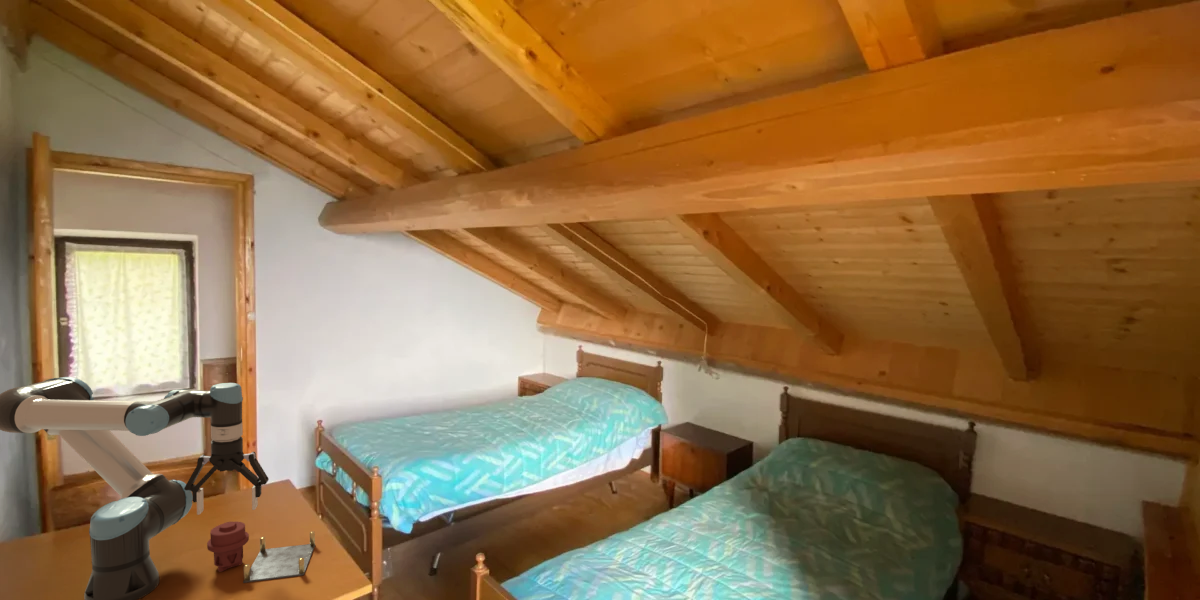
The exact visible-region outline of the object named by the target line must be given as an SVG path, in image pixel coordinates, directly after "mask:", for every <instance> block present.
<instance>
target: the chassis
mask: <svg viewBox="0 0 1200 600" xmlns="http://www.w3.org/2000/svg"><path fill="white" fill-rule="evenodd" d="M315 535H316V532H315V531H313V530H312V531H310V532H309V543H308V544H298V545H287V546H281V547H272V548H266V536H261V537H259V552H258V554H257V556H256V558H255V559H254V561H253V563H252V564H251V565H250V564H249V563H248V564H244V565H243V583H244V584H245V583H253V582H261V581H262V582H263V581H268V580H270V581H271V580H277V579H284V578H291V577H300V576H304V575H306V571H307V568H308V566H309V563H310V560H311V557H312V554H313V552H314V550H315V546H316V536H315ZM250 566H251V567H250Z"/></svg>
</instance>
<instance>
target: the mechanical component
mask: <svg viewBox="0 0 1200 600" xmlns="http://www.w3.org/2000/svg"><path fill="white" fill-rule="evenodd" d="M249 537H250V535H249V533H248V531H246V524H245V523H244V522H242V521H226V522H224V523H221V524H218V525H216V526H214V527H213V528H212V529H210V539H209V540H208V541H207V543H206V547H207V548H206V549H207V551H209V552H211V553H213V564H214V566H215V567H217V571H218V572H219V573H220V572H224V571H226V570H229V569H230V568H233V567H237V566H241V565H242V564H243V558H244V546H245V545H246V544H247V543H248V542H249V540H250V539H249Z"/></svg>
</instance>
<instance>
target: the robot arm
mask: <svg viewBox="0 0 1200 600" xmlns="http://www.w3.org/2000/svg"><path fill="white" fill-rule="evenodd" d="M242 391H243V390H242V386H241V384H239V383H238V382H237V383H235V382H222V383H216V384H213V385H212V386H211V387H210V388H209V390H202V389H197V390H196V389H189V388H183V389H172V390H171V391H169V392H168V394H165V396H164V397H163V398H161V399H158V400H155V401H154V400H153V401H137V400H136V401H135V400H134V401H133V400H95V399H94V396H93V394H94V392H93V390H92V389H91V387H90V386H89V384H88V383H86V382H85V381H83V380H81V379H80V378H76V377H73V376H63V377H55V378H54V377H53V378H49V379H46V380H43V381H39V382H36V383H32V384H31V383H30V384H27V385H21V386H17V387H12V388H10V389H7V390H5V391H3V392H2V393H0V431H2V432H5V433H12V434H13V433H14V434H33V433H37V432H39V431H41V430H43V431H44V432H45V433H46V434H48V435H49V436H51V435H52V436H60V438H62V439H63V440H64V441H65V442H66V443H67V444H68V446H69V447H71V449H73V450H74V452H76V453H77V454H78V455H79V456H80V457H81V458H82V459H83V460H84V461H85V462H86V464H88V466H90V468H92V469H93V470H94V471H95V472H96V473H97V474H98V475H99V476H100V477H101V478H102V480H103V481H105V482H106V484H108V485H109V486H110V487H111V488H112V489H113V490H114V491H115V492H116V493H117V494H118V495H119V496H120V498H119V499H118V500H112V501H110V502H108V503H106V504H105V505H103V506H101V507H100V508H98V509H97V510H96V511H94V513H93V514H92V516H91V517H90V520H89V521H90V524H89V531H88V532H89V539H90V553H91V555H90V557H91V567H92V568H91V574H90V576H89V579H88V582H87V585H86V588H85V590H84V594H83V595H84V596H83V597H84V600H140V599H141V598H144V597H145V596H147V595H148V594H150V593H151V592H153V591H154V590H155V589H156V588H157V587H158V585H159V583H160V574H159V573H160V572H159V570H158V568H157V566H156V564H154V561H153V559H152V558H151V555H150V540H151V539H153V538H154V537H156V536H157V535H158V534H160V533H162V532H163V531H165V530H166V529H167V528H170V527H171V526H173V525H176V524H177V523H178V522H179V521H180V520H182V519H183V518H184V517H186V516H187V514H188V513H189V512H190V510H191V509H192V506H193V503H196V515H197V516H198V515H201V514H202V513H203V511H204V508H205V507H204V487H202V486H203V485H204V484H205V483H206V482H207V480H208V479H210V478H211V476H212V475H213V474H214V473H215V472H216V471H219V472H220V473H221V472H226V471H227V472H231V471H232V472H233V471H234V470H236V471H237V472H238V473H240V474H241V475H242V476H243V477H244V478H245V479H246V480H247V481H249V483H250V484H252V485H253V486H252V488H251V510H252V511H253V510H254V511H255V510H256V509H257V508H258V505H259V504H258V503H259V502H258V500H259V499H258V498H260V497H261V495H262V486H264V485H266V484H267V483H268V482H269V477H268V475H267V473H266V472H265V470H264V469H263V467H262V465H261V463H260V462H259V461H258V458H257V454H256V451H251V453H245V452H244V449H243V446H244V445H243V439H244V438H243V432H244V431H243V430H244V429H243V399H244V397H243V392H242ZM192 418H205V419H206V418H207V419H208V418H210V439H211V441H210V446H211V447H210V456H209V455H205V454H202V455H200V457H198V458H197V462H196V467H195V469H194V470H193V471H192V474H191V476H190V477H189V479H188V481H187V482H184V481H182V480H181V479H180V480H176V479H170V480H169V479H168V478H167V477H166V476H165V475H164V474H163V473H153V472H152V471H151V470H150V469H149V468H148V467H147V466H146V465H145V464H144V463H143V462H142V461H140V459H139V458H138V457H137V456H136V455H135V454H134V453H133V452H132V451H130V449H129V448H128V447H127V446H125V444H124V443H123V442H121V440H120V439H119V438H118V437H117V436H116V435H115V434H113V432H112V431H125V432H126V431H127V432H128V431H129V432H130V433H132V434H134V435H135V436H136V437H137V436H138V437H146V436H148V435H149V436H150V435H153V434H156V433H157V434H158V433H160V431H163V430H165V429H167V428H170V427H173V426H174V425H176V424H177V425H178V424H179V423H182V422H184V421H186V420H188V419H189V420H190V419H192ZM244 460H246V461H247V462H249V465H250V467H251V468H252V469H253V471H254V472H252V470H250V468H248V467H247V466H246V463H244V462H243V461H244ZM208 462H209V463H210V464H211V465H212V467H211V469H210V470H208V471H207V473H206V474H205V475H203V477H202V478H201V479H200V480H199V481H198V482H197V484H194V483H195V482H196V480H197V478H198V476H199V475H200V474H201V471H202V470H203V467H204V466H205V465H207V463H208Z"/></svg>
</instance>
